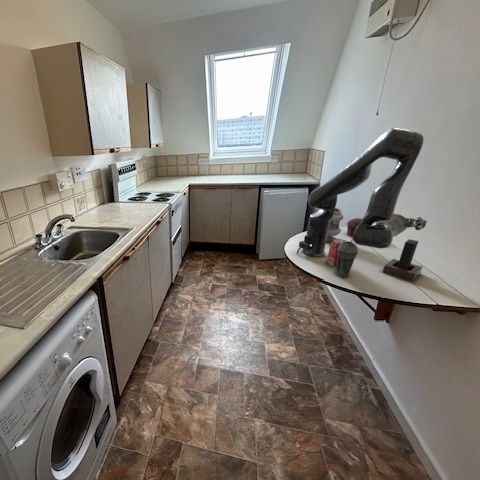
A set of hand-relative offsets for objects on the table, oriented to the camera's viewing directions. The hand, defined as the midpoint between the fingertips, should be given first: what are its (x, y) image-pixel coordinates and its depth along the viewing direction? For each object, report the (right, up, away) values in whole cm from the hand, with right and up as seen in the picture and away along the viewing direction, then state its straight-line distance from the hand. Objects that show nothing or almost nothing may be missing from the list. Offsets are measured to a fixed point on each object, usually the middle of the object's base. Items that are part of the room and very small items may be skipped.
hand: (405, 217), depth 106 cm
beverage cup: (-18, -25, +11) cm, 33 cm away
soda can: (-15, -21, +20) cm, 33 cm away
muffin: (+19, -6, +52) cm, 56 cm away
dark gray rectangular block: (+7, -24, +10) cm, 27 cm away
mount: (+7, -24, +10) cm, 27 cm away
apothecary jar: (-1, -9, +49) cm, 50 cm away
